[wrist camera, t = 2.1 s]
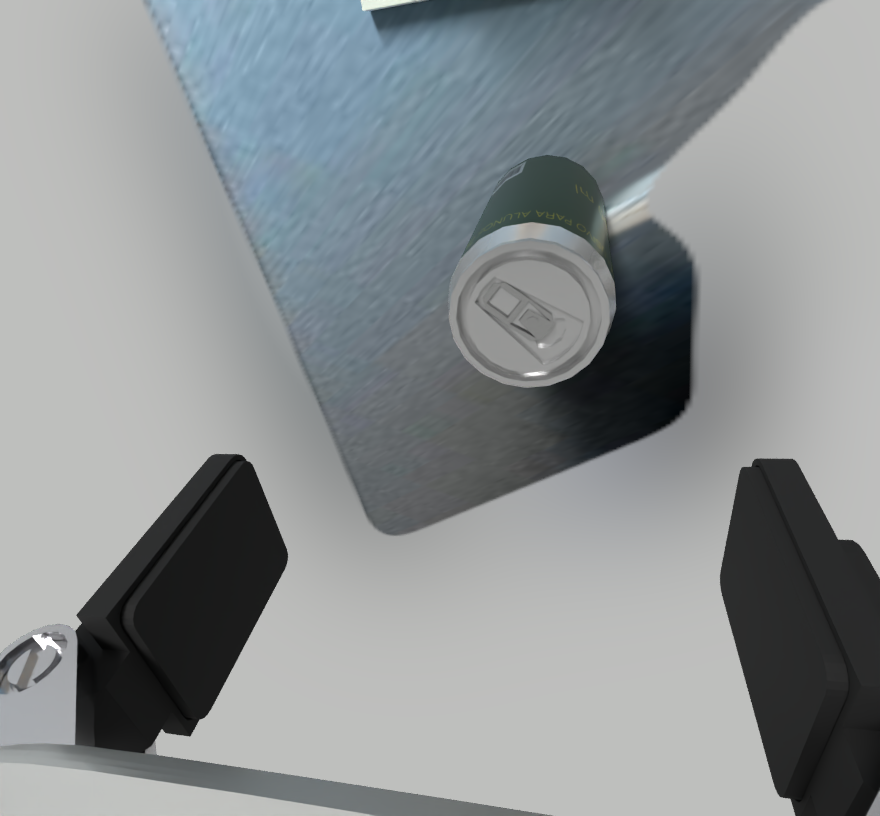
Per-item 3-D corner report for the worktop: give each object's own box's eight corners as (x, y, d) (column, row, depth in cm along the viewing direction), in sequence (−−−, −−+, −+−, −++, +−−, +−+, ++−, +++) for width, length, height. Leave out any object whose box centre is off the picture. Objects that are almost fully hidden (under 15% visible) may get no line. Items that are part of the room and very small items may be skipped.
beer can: (468, 225, 28) (411, 333, 18) (535, 126, 25) (508, 193, 15) (554, 286, 29) (542, 420, 19) (628, 198, 26) (658, 304, 16)
